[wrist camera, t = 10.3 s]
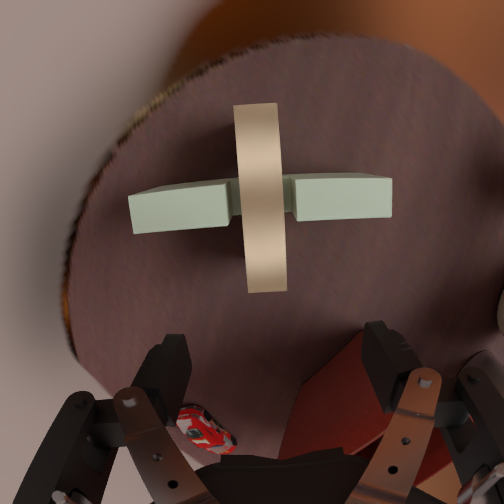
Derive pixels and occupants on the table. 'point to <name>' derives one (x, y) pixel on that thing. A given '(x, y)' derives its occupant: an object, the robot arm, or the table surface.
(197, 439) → the race car
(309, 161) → the table surface
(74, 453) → the robot arm
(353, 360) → the plant pot
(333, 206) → the notched board
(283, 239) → the slotted plate
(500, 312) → the canister
